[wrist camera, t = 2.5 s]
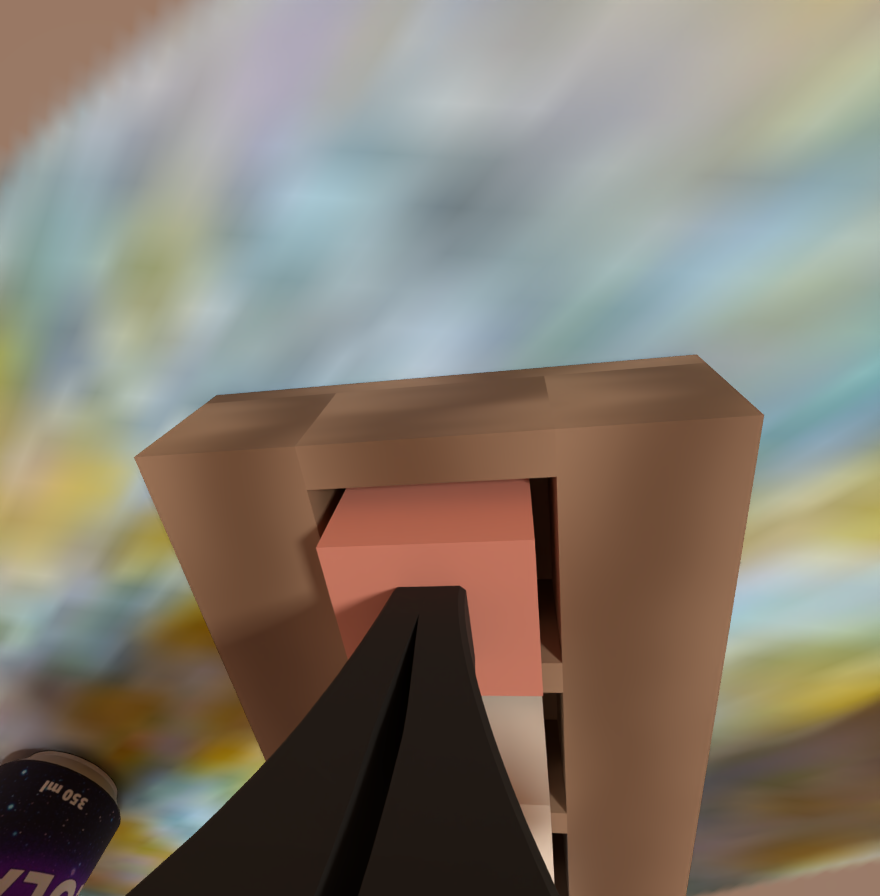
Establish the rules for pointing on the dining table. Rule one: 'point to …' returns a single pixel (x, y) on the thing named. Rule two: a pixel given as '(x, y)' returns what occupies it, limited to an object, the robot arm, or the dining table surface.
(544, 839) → the ivory key
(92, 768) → the beverage can
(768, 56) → the dining table surface
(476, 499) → the red key
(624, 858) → the brown slotted tray
